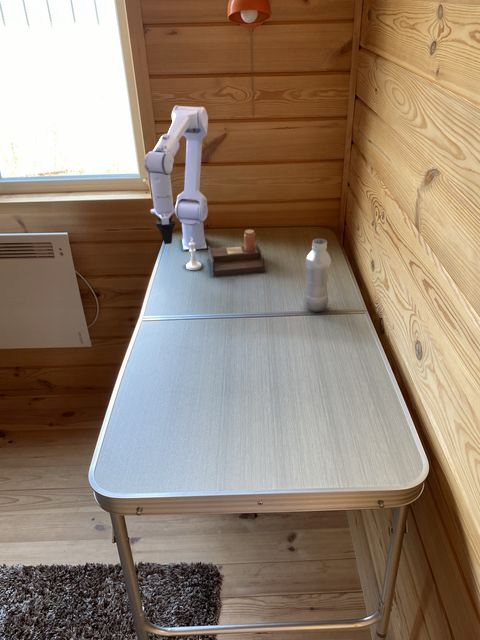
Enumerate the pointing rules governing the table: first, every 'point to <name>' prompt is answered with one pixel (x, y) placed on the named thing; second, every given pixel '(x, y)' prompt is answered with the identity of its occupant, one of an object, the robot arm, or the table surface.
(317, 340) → the table surface
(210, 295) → the table surface
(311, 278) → the plastic bottle
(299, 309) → the table surface
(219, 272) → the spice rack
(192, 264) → the chess piece
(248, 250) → the spice pot
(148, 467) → the table surface
